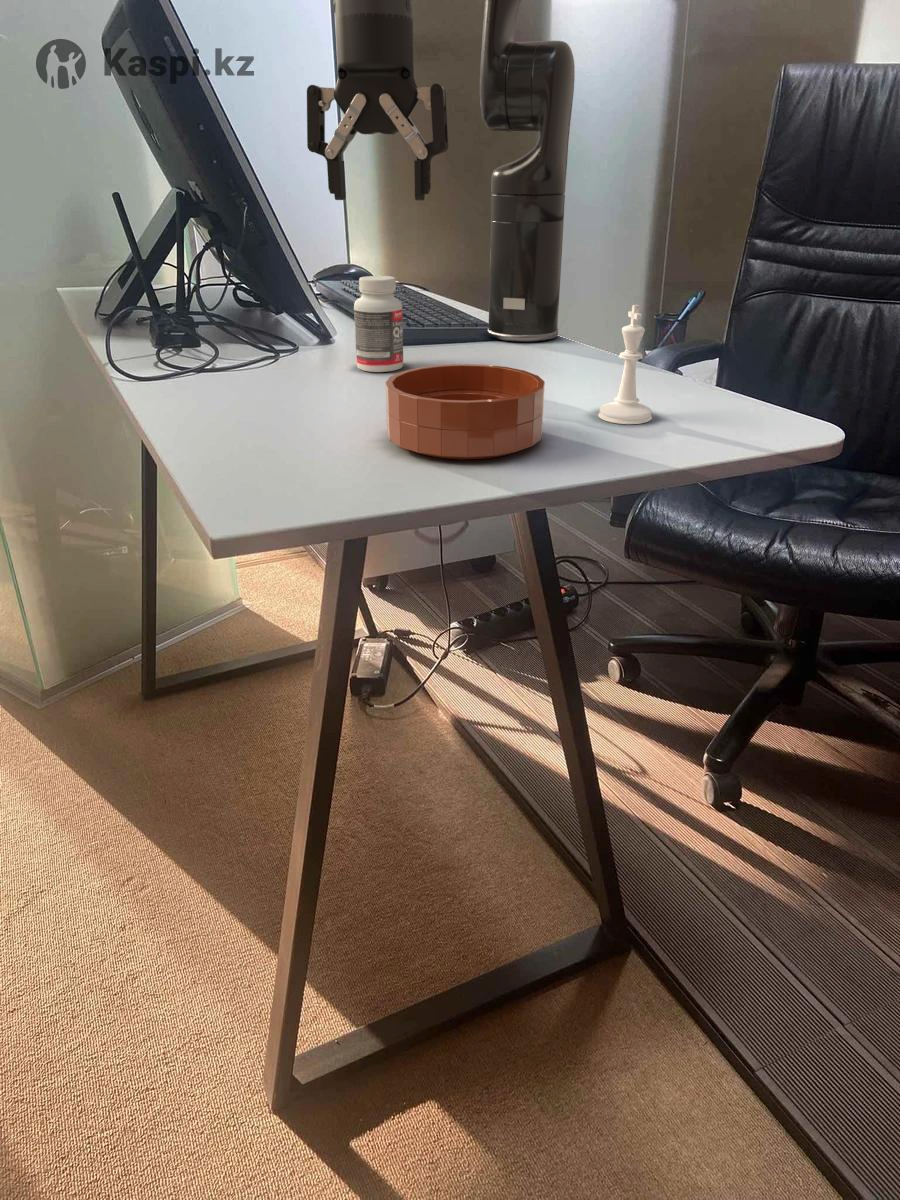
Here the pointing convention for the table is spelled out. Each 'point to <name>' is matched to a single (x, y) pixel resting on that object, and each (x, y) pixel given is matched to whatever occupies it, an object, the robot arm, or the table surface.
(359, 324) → the pill bottle
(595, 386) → the table surface
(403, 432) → the bowl
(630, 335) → the chess piece
